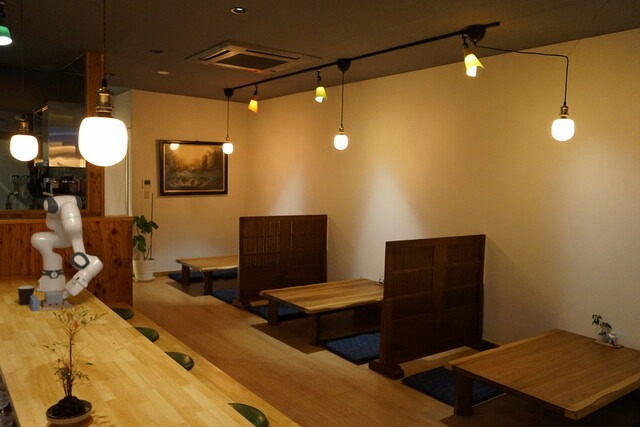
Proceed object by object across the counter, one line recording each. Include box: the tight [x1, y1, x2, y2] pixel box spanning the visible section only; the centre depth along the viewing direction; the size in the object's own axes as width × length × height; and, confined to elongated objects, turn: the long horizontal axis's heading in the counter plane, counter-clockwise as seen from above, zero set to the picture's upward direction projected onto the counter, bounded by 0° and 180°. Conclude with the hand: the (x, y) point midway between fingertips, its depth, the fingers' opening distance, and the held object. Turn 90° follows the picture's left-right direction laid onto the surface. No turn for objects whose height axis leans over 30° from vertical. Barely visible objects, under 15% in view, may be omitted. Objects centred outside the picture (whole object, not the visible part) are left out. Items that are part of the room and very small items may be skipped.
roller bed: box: [39, 297, 73, 312], centre depth 294 cm, size 18×15×3 cm
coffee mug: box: [17, 285, 35, 306], centre depth 297 cm, size 12×9×10 cm
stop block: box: [29, 294, 40, 312], centre depth 287 cm, size 14×3×6 cm, turn 36°
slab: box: [43, 290, 63, 304], centre depth 293 cm, size 12×8×5 cm, turn 36°
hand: (62, 297), depth 296 cm, fingers closed, pressing on slab
